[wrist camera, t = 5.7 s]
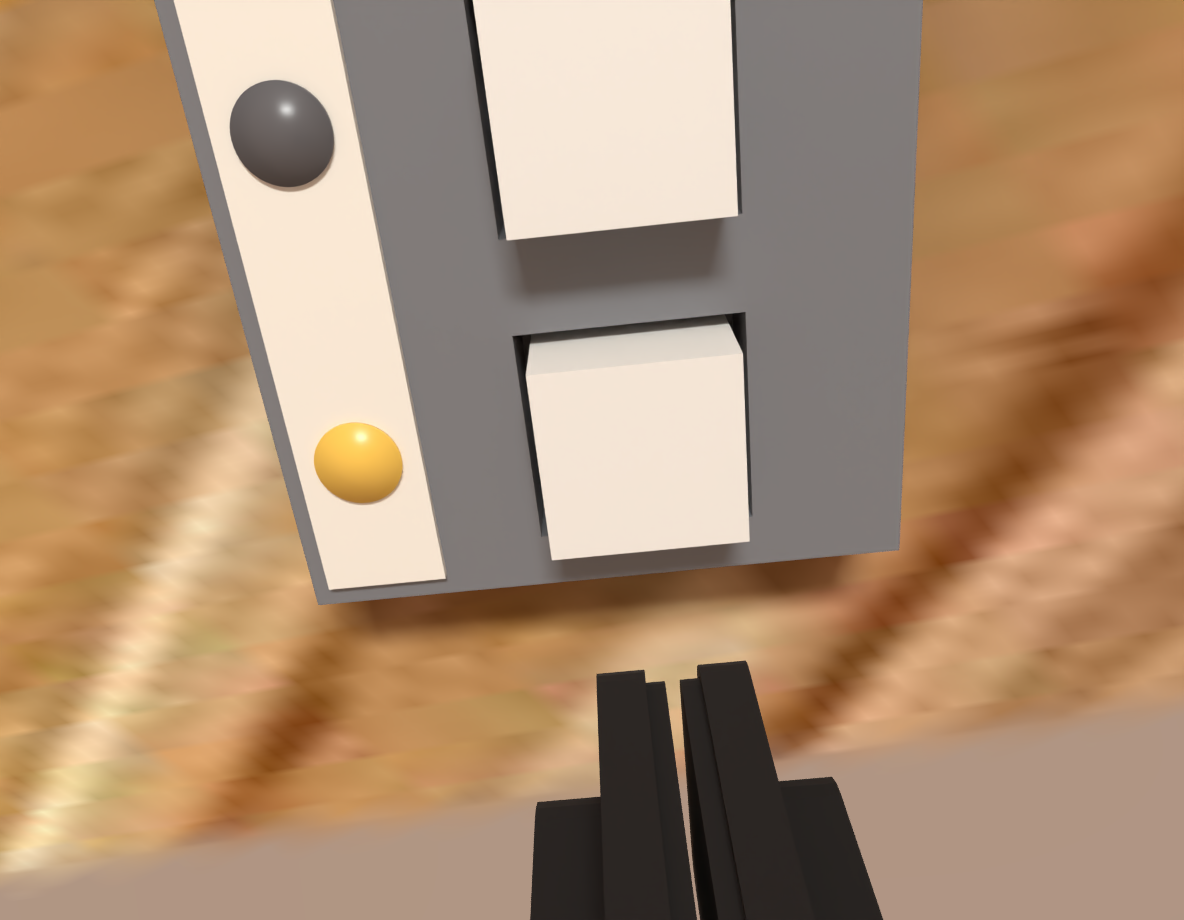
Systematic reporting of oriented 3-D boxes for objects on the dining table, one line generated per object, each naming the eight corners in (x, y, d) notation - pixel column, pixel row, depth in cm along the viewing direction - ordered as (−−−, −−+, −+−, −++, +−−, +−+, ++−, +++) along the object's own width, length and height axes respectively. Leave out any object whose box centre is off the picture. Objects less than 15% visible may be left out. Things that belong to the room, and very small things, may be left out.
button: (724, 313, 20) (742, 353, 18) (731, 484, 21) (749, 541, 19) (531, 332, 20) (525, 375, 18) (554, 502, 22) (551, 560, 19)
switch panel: (887, -627, 15) (964, -780, 12) (862, 487, 24) (903, 556, 21) (86, -521, 16) (-30, -643, 13) (347, 537, 24) (315, 612, 21)
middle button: (708, -41, 17) (728, -47, 15) (718, 189, 19) (738, 216, 16) (484, -15, 17) (470, -17, 15) (515, 211, 19) (506, 240, 17)
